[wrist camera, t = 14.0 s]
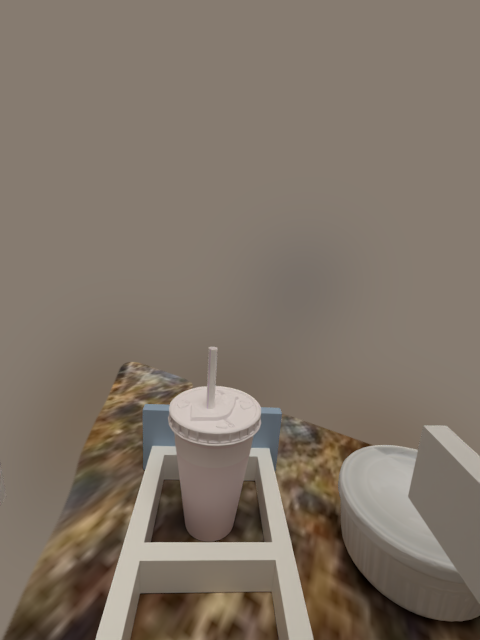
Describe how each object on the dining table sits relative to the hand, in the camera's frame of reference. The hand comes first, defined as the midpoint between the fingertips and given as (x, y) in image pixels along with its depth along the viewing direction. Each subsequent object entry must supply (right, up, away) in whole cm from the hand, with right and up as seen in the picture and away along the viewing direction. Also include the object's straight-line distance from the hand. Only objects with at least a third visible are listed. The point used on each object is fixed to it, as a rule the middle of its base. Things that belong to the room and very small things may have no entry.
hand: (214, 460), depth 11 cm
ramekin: (+13, -13, +14) cm, 23 cm away
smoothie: (-2, -11, +15) cm, 19 cm away
